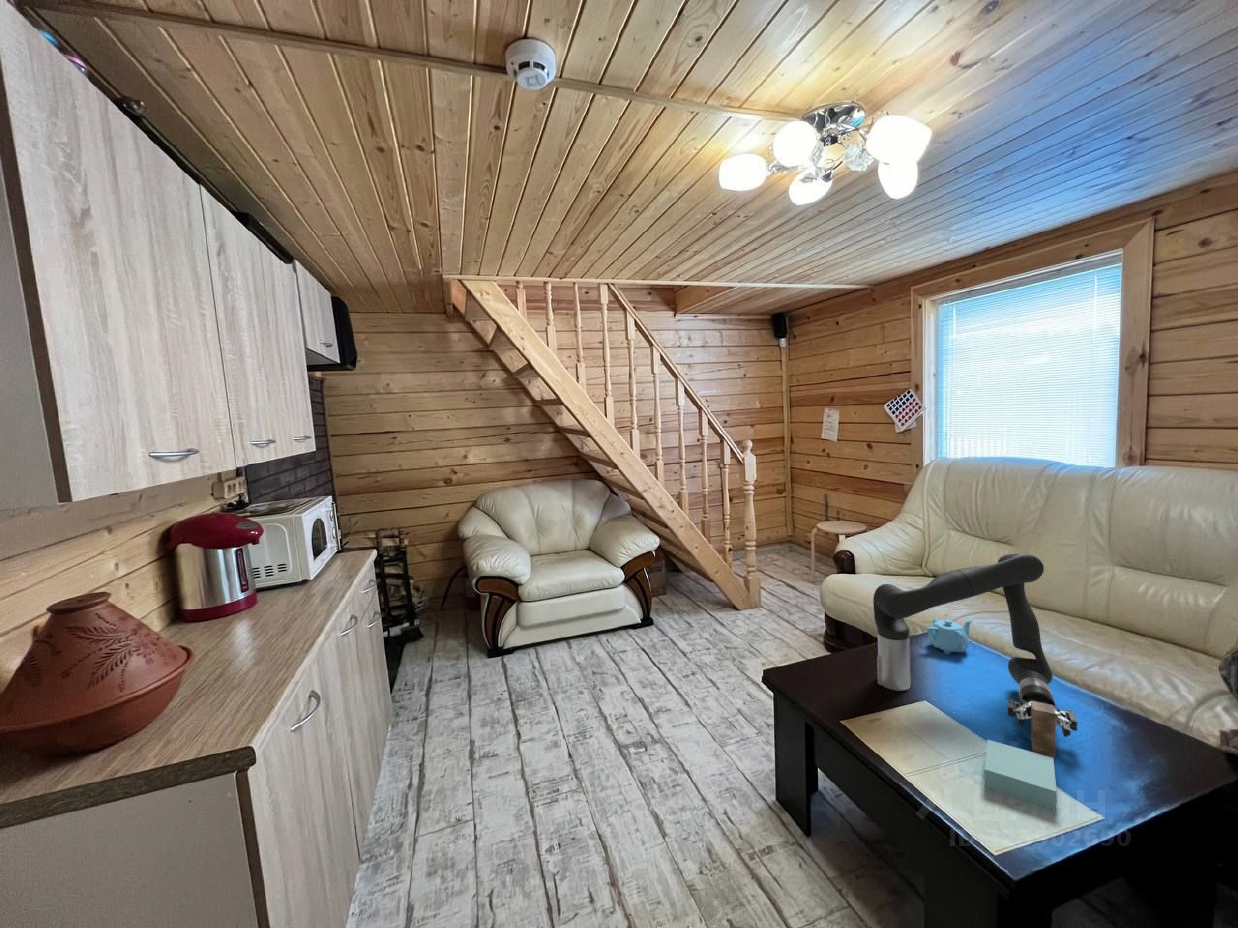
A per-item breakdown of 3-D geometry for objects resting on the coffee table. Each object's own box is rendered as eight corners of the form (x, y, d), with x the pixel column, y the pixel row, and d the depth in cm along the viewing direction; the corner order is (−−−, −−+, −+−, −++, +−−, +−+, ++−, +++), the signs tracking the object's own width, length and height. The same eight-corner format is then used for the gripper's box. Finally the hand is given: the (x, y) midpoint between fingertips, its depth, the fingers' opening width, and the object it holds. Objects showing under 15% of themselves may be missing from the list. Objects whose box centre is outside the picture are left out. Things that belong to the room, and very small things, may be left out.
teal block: (984, 788, 119) (984, 769, 119) (987, 757, 129) (987, 739, 129) (1056, 812, 111) (1056, 791, 111) (1053, 777, 121) (1053, 757, 121)
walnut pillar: (1033, 752, 129) (1033, 709, 128) (1031, 742, 133) (1031, 700, 132) (1055, 758, 127) (1055, 713, 126) (1052, 747, 130) (1052, 704, 129)
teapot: (924, 651, 185) (923, 623, 184) (934, 635, 195) (934, 609, 194) (965, 661, 176) (964, 632, 175) (973, 644, 186) (973, 616, 185)
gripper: (1004, 678, 145) (1008, 707, 132) (1069, 690, 137) (1081, 722, 123) (1004, 702, 145) (1009, 733, 132) (1069, 716, 137) (1081, 750, 124)
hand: (1043, 728), depth 128 cm, fingers open, 8 cm apart
